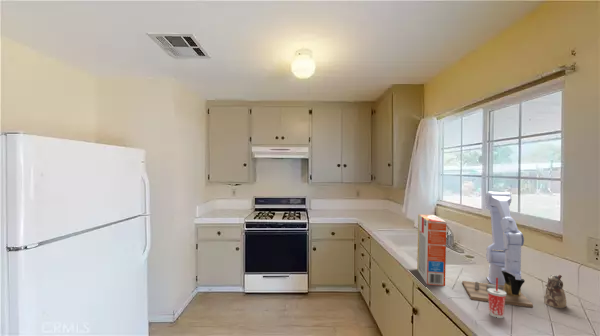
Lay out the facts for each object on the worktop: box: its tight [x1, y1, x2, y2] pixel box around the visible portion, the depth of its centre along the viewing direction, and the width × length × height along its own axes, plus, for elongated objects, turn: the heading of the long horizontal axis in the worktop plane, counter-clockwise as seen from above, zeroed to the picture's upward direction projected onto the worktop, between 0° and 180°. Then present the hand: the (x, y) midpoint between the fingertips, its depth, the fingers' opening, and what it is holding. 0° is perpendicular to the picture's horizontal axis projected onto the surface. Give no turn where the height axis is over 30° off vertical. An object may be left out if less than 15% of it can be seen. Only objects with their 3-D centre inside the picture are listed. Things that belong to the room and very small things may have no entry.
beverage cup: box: [487, 278, 506, 319], centre depth 117 cm, size 6×6×14 cm
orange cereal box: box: [416, 213, 447, 287], centre depth 159 cm, size 23×8×30 cm, turn 170°
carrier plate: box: [461, 280, 534, 308], centre depth 138 cm, size 20×22×5 cm
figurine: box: [543, 274, 567, 309], centre depth 128 cm, size 7×7×12 cm
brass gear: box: [504, 282, 522, 296], centre depth 136 cm, size 6×6×4 cm
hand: (512, 291), depth 136 cm, fingers open, 7 cm apart
